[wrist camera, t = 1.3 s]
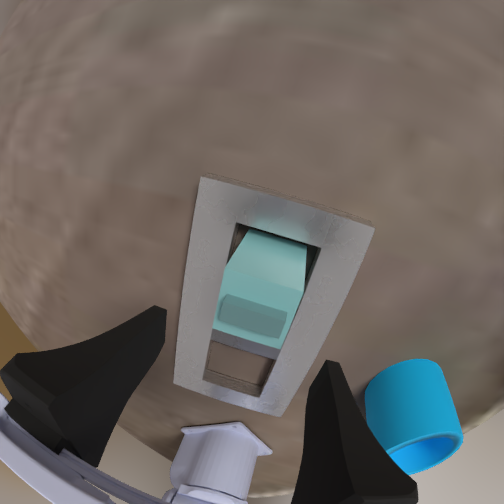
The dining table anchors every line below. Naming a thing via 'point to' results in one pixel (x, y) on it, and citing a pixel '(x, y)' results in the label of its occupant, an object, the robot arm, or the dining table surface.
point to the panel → (311, 304)
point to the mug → (413, 415)
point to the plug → (261, 289)
